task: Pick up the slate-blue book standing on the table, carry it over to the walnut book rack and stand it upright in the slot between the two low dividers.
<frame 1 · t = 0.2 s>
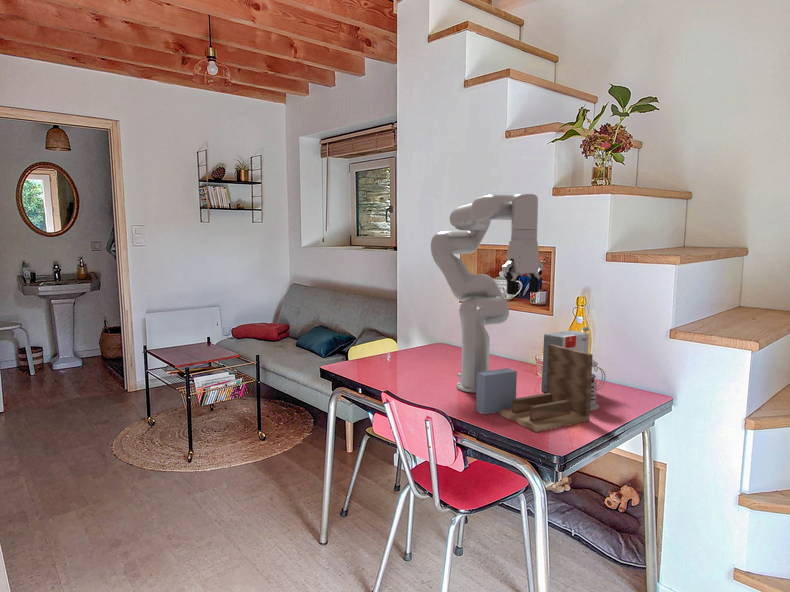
hand: (522, 293, 161), 36 cm above the table, tool pointing down, fingers open, 9 cm apart
book rack: (543, 417, 156), on the table
hard drive box: (564, 390, 184), on the table
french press: (585, 405, 168), on the table
book: (495, 410, 163), on the table
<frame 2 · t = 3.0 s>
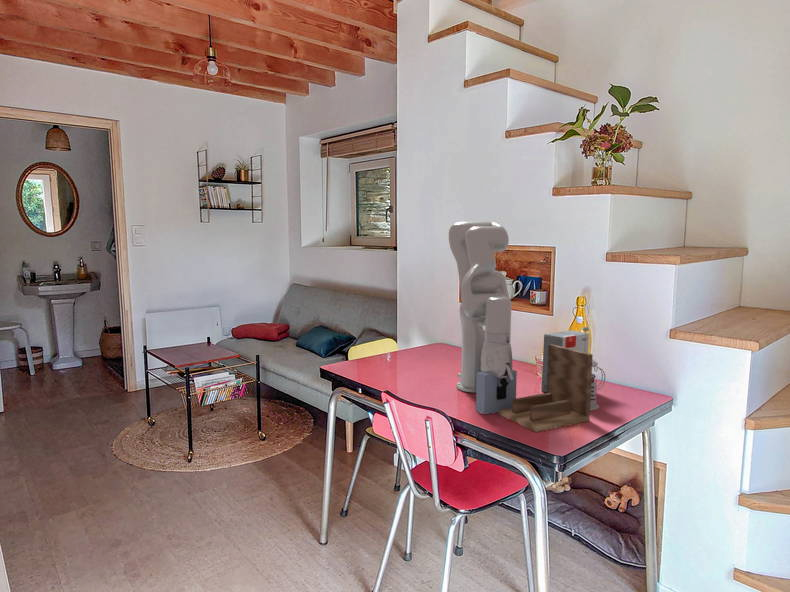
hand: (496, 396, 163), 4 cm above the table, tool pointing down, fingers closed on book, 4 cm apart
book: (495, 410, 163), on the table, touching gripper
everything else where it was.
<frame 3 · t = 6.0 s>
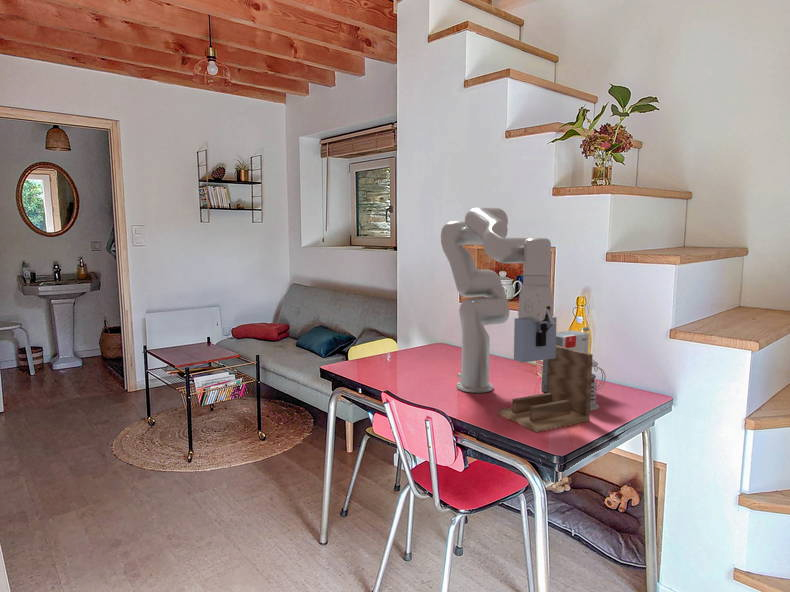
hand: (535, 344, 154), 22 cm above the table, tool pointing down, fingers closed on book, 4 cm apart
book: (534, 358, 155), point 17 cm above the table, touching gripper
everything else where it was.
when the fingers open (8 cm above the table, at t = 9.0 s): book drops 2 cm, resting on book rack.
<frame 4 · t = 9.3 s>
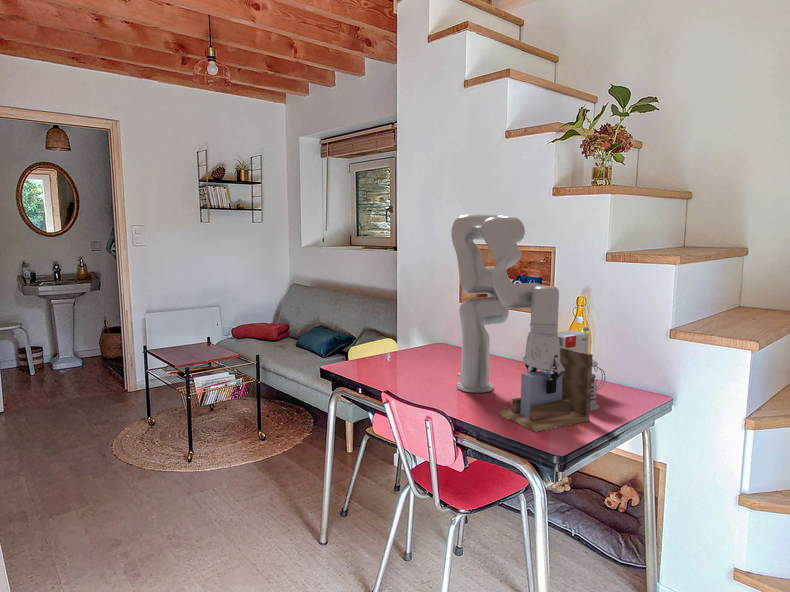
hand: (541, 389, 155), 9 cm above the table, tool pointing down, fingers open, 6 cm apart
book: (540, 413, 156), point 1 cm above the table, touching book rack
everything else where it was.
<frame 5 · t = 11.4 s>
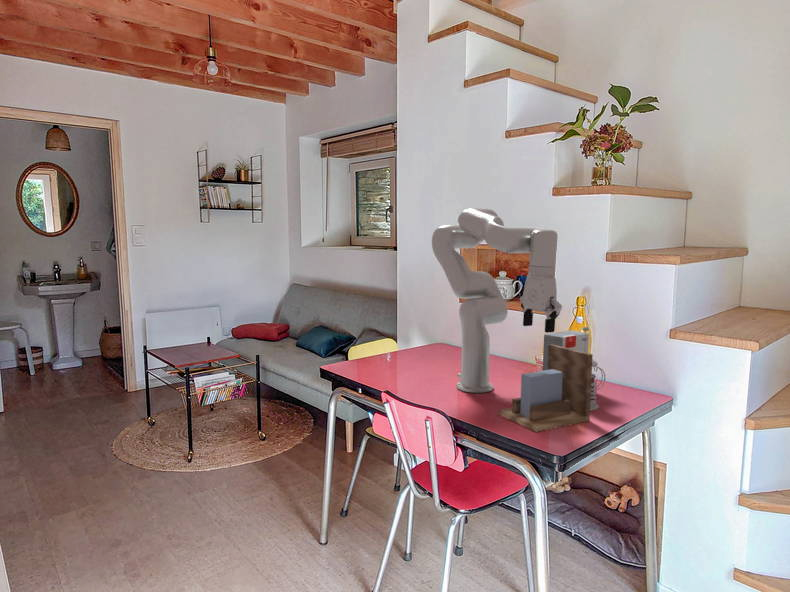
hand: (538, 328, 160), 25 cm above the table, tool pointing down, fingers open, 9 cm apart
nothing on the table moved.
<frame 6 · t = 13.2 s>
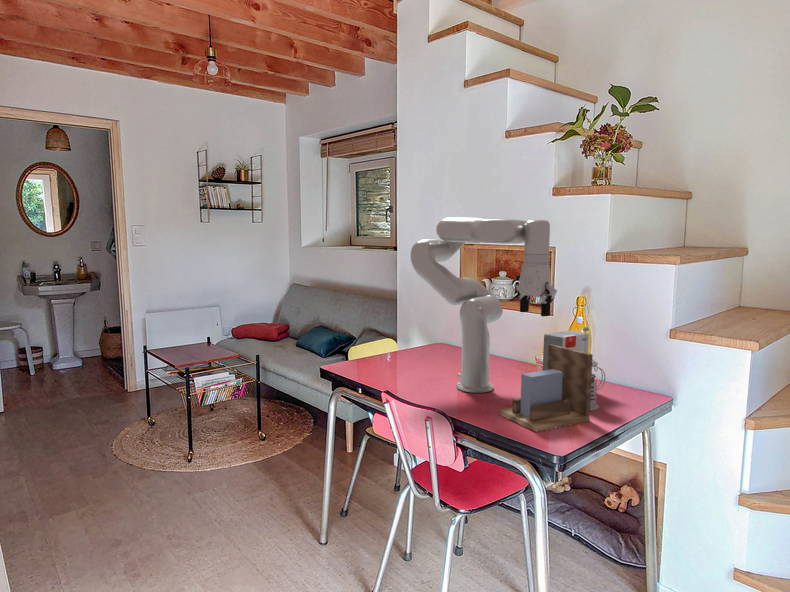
hand: (534, 313, 169), 28 cm above the table, tool pointing down, fingers open, 9 cm apart
nothing on the table moved.
at the end: book 0.1 cm from the target spot on the book rack, point 1.5 cm above the book rack's base; book tilted 0°; the gripper is holding nothing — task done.
